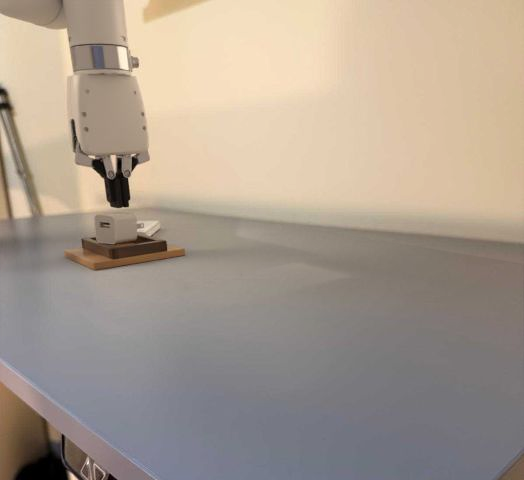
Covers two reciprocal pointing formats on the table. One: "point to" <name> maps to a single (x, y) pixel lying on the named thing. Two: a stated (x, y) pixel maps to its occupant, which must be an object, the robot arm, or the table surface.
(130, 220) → the usb wall charger
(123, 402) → the table surface
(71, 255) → the wooden tray
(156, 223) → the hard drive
